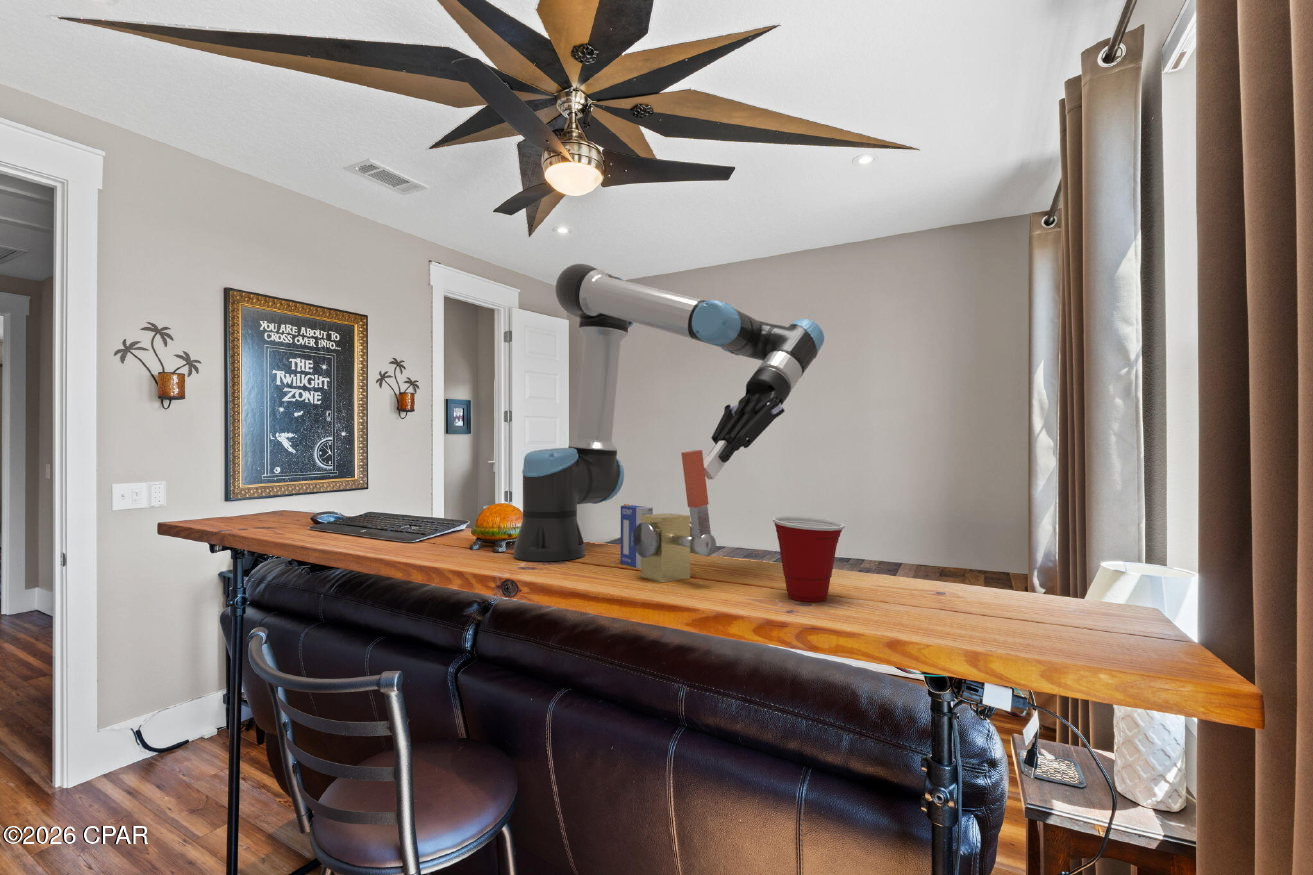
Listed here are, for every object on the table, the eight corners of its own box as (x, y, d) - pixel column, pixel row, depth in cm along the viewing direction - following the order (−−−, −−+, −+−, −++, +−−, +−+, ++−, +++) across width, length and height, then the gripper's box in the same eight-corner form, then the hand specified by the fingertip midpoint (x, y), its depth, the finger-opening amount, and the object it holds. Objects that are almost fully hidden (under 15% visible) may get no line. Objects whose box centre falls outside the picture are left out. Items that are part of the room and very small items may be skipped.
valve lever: (691, 557, 95) (678, 453, 94) (707, 551, 97) (695, 449, 96) (701, 559, 93) (688, 452, 92) (717, 553, 95) (704, 449, 94)
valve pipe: (633, 578, 102) (633, 515, 103) (676, 571, 108) (676, 512, 109) (673, 589, 93) (673, 521, 94) (717, 581, 99) (717, 517, 100)
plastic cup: (825, 611, 80) (824, 524, 81) (758, 598, 87) (758, 518, 88) (858, 597, 88) (857, 518, 89) (794, 587, 95) (794, 514, 96)
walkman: (620, 563, 117) (620, 503, 117) (631, 561, 119) (632, 503, 119) (641, 569, 111) (641, 506, 111) (653, 567, 112) (653, 505, 113)
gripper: (811, 394, 103) (746, 490, 92) (756, 400, 113) (692, 487, 102) (791, 361, 100) (722, 457, 89) (737, 370, 110) (669, 457, 99)
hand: (706, 473), depth 96 cm, fingers closed
